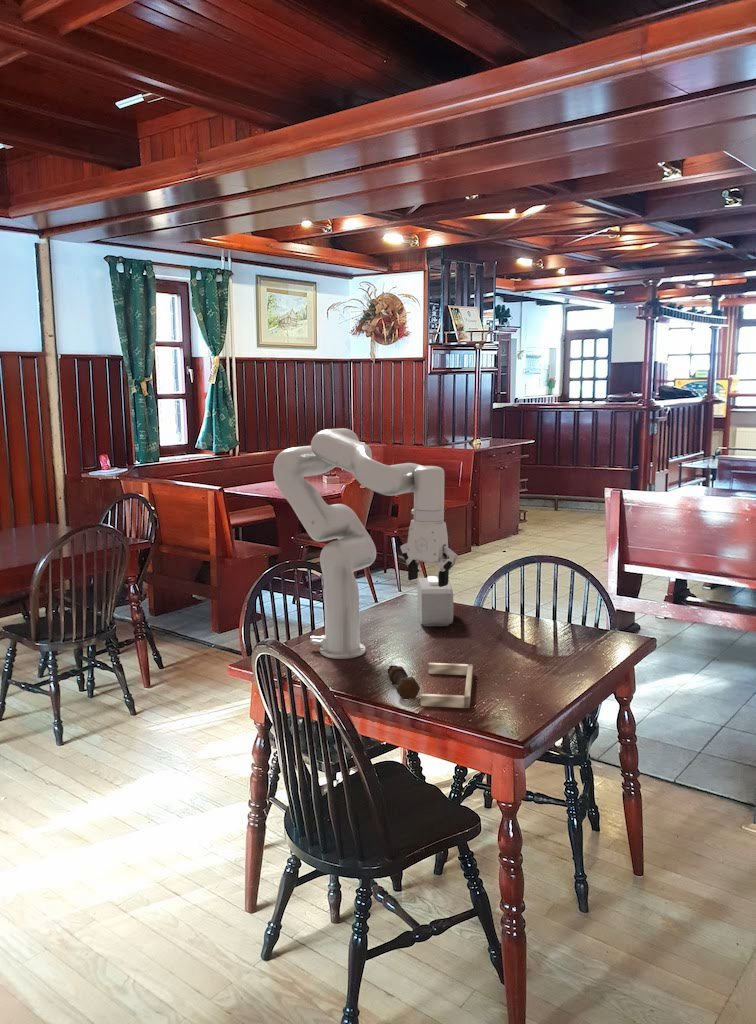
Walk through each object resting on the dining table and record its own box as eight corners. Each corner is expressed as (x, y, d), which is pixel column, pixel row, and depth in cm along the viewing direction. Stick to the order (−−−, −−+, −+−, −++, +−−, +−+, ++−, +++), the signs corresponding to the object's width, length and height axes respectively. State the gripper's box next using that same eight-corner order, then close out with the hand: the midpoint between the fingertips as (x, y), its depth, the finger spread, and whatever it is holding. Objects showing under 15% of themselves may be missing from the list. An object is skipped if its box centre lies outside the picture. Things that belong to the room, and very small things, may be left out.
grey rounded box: (453, 630, 245) (453, 587, 243) (421, 630, 245) (421, 587, 243) (446, 611, 266) (446, 571, 264) (417, 611, 266) (417, 571, 263)
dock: (420, 705, 189) (420, 695, 188) (428, 671, 210) (428, 662, 210) (469, 708, 187) (469, 697, 187) (472, 673, 209) (472, 664, 208)
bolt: (396, 684, 207) (412, 704, 193) (379, 676, 206) (394, 696, 192) (407, 664, 207) (423, 683, 193) (390, 656, 206) (405, 674, 192)
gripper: (392, 513, 206) (392, 579, 209) (447, 522, 195) (446, 591, 198) (411, 510, 212) (410, 574, 215) (465, 518, 201) (464, 585, 204)
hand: (427, 582), depth 206 cm, fingers open, 9 cm apart
